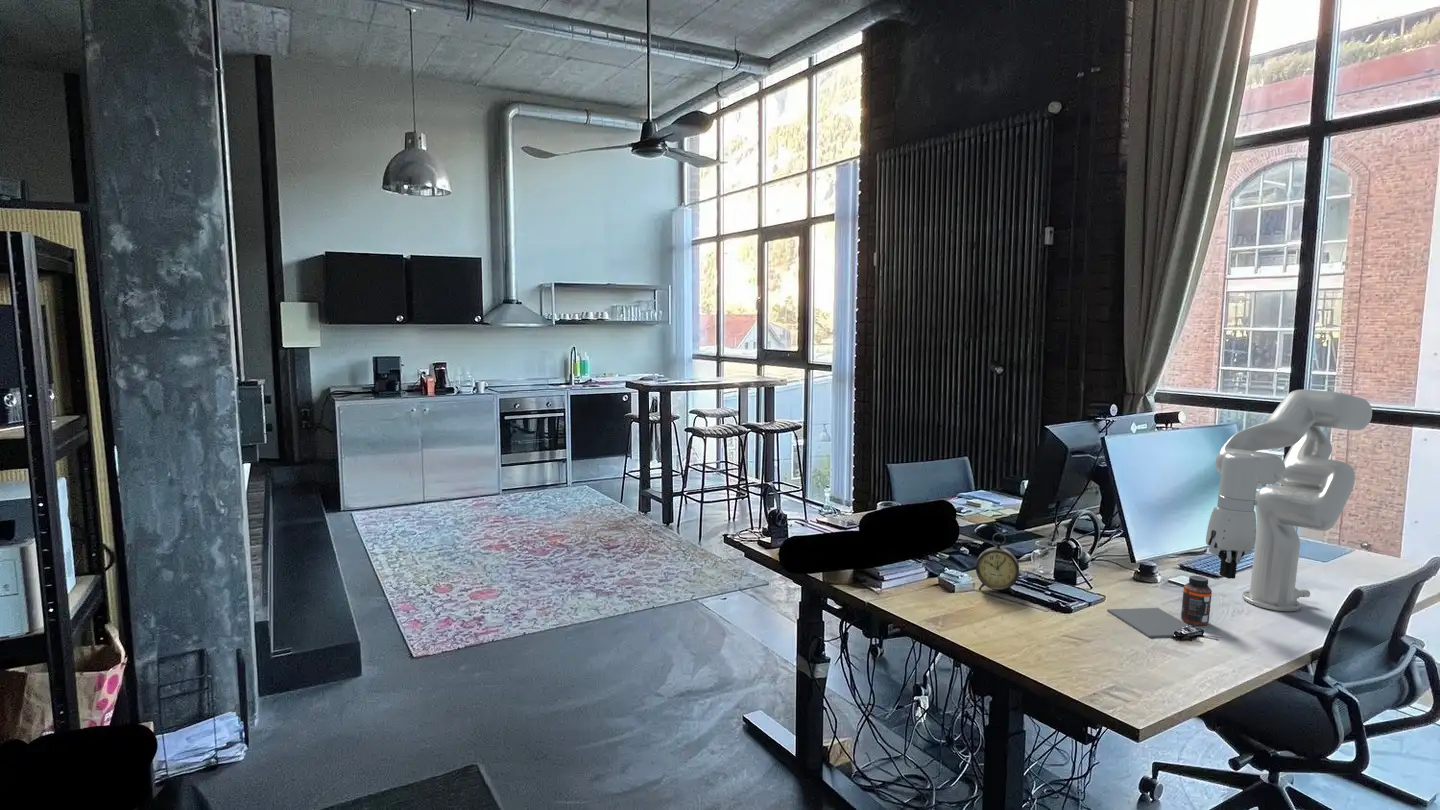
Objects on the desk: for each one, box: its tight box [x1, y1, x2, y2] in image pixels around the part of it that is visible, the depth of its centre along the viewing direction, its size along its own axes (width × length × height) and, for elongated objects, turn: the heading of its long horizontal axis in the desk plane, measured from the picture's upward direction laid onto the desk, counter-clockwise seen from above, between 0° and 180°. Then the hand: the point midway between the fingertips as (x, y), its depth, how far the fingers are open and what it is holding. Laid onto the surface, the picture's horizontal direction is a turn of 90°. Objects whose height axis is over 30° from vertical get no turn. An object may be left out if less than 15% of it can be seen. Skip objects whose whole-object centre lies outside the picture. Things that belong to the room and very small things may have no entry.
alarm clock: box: [975, 532, 1020, 595], centre depth 209 cm, size 11×5×16 cm, turn 68°
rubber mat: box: [1106, 607, 1189, 639], centre depth 190 cm, size 14×16×1 cm
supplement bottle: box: [1180, 575, 1213, 626], centre depth 191 cm, size 6×6×11 cm
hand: (1227, 576), depth 190 cm, fingers closed
